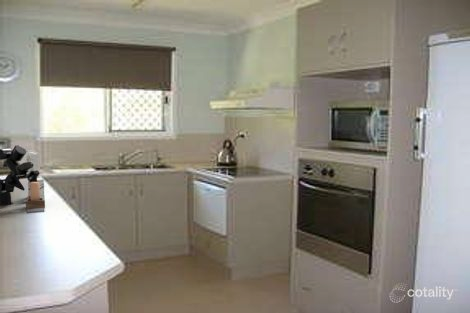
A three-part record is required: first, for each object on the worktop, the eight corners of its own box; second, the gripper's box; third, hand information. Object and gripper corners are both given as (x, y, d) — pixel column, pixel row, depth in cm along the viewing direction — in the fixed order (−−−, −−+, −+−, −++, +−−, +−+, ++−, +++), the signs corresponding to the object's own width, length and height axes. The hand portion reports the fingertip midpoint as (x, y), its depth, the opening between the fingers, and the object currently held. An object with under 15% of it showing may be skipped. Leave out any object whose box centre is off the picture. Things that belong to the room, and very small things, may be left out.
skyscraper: (35, 197, 280) (33, 150, 278) (24, 197, 282) (22, 150, 280) (43, 195, 288) (41, 149, 286) (32, 195, 290) (30, 149, 287)
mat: (27, 210, 241) (27, 209, 241) (44, 208, 244) (44, 207, 244) (26, 213, 234) (26, 211, 234) (44, 211, 237) (44, 210, 237)
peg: (29, 207, 248) (27, 182, 247) (35, 206, 253) (34, 181, 251) (35, 208, 247) (34, 183, 246) (42, 206, 251) (41, 182, 250)
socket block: (26, 206, 252) (26, 198, 252) (44, 205, 255) (44, 197, 255) (26, 209, 244) (25, 201, 243) (45, 207, 247) (44, 200, 247)
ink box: (36, 200, 269) (35, 180, 268) (28, 200, 270) (27, 180, 269) (45, 198, 278) (44, 178, 277) (37, 198, 279) (36, 178, 278)
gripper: (7, 158, 242) (24, 180, 239) (36, 155, 259) (52, 176, 256) (-3, 173, 246) (13, 195, 243) (26, 169, 263) (42, 190, 259)
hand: (31, 188), depth 250 cm, fingers open, 9 cm apart
